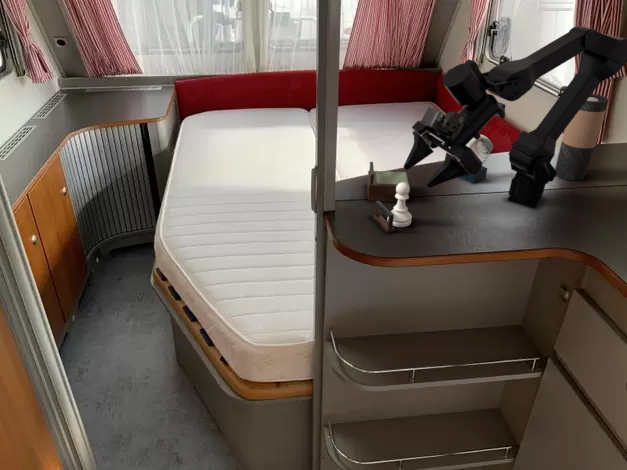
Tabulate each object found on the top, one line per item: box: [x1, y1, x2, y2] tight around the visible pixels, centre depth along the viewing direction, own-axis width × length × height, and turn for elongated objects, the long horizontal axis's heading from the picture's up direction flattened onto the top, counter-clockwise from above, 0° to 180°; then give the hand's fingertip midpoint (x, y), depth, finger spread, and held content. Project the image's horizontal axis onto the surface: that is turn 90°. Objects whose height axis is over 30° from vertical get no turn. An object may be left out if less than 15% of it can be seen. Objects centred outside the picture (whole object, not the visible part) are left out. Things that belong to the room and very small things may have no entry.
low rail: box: [372, 201, 395, 234], centre depth 110 cm, size 7×2×4 cm, turn 21°
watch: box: [460, 134, 494, 184], centre depth 130 cm, size 6×8×11 cm
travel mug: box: [554, 93, 609, 181], centre depth 131 cm, size 8×8×20 cm
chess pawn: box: [386, 182, 413, 228], centre depth 110 cm, size 5×5×9 cm
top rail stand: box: [366, 161, 410, 203], centre depth 122 cm, size 9×8×6 cm
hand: (415, 177), depth 108 cm, fingers open, 9 cm apart
